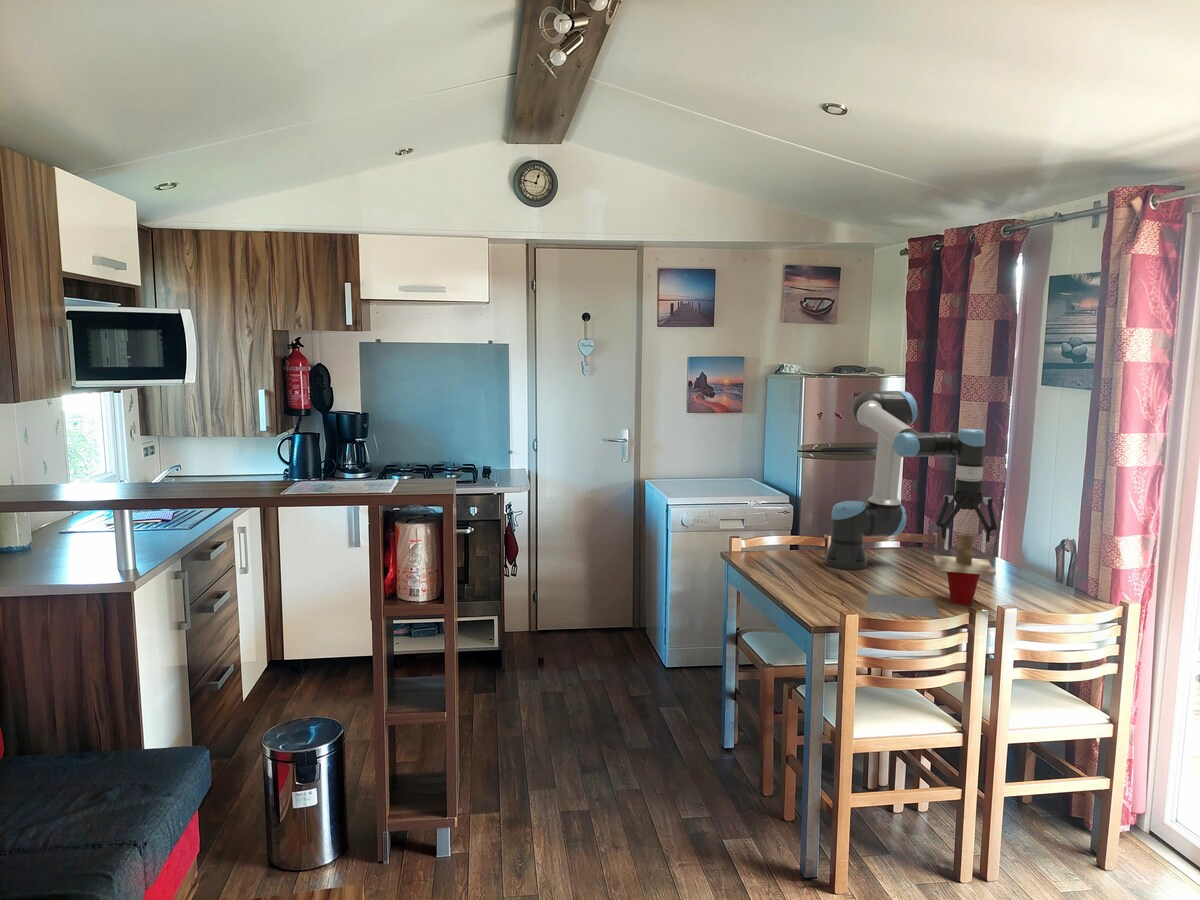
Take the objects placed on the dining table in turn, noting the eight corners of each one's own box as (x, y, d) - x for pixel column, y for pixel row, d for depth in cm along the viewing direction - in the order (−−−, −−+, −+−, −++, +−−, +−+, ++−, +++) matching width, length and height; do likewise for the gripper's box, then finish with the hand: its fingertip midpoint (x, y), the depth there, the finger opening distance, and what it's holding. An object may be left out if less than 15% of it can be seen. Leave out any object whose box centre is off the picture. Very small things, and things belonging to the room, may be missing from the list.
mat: (867, 613, 248) (867, 610, 248) (866, 595, 267) (867, 593, 267) (939, 620, 242) (939, 617, 242) (933, 601, 261) (933, 599, 261)
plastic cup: (972, 600, 264) (975, 563, 263) (985, 610, 253) (987, 571, 252) (937, 598, 265) (939, 561, 264) (948, 608, 254) (950, 570, 253)
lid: (938, 570, 252) (940, 537, 251) (933, 558, 268) (935, 527, 267) (995, 575, 248) (997, 542, 247) (987, 563, 263) (989, 531, 262)
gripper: (931, 478, 254) (926, 550, 257) (1011, 483, 248) (1006, 556, 250) (928, 475, 262) (924, 544, 264) (1007, 479, 255) (1002, 550, 257)
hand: (964, 550), depth 257 cm, fingers open, 10 cm apart
